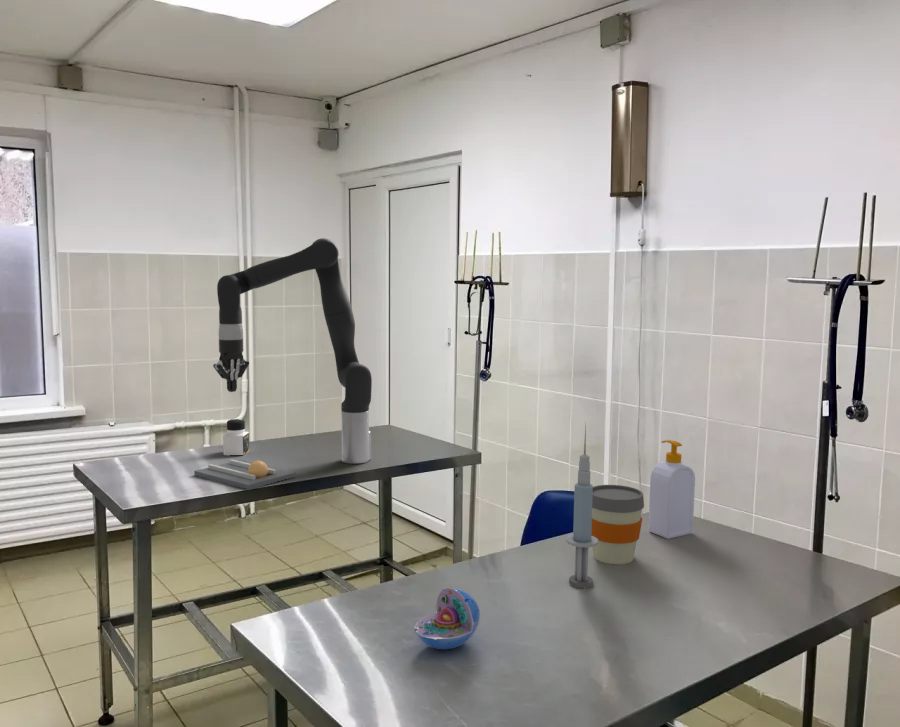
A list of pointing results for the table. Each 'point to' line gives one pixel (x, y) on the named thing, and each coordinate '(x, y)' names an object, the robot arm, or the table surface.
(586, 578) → the syringe
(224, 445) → the medicine bottle
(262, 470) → the ball
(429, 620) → the cell model
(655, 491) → the soap bottle
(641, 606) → the table surface
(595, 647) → the table surface
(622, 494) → the reusable coffee cup
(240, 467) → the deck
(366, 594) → the table surface
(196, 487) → the table surface
